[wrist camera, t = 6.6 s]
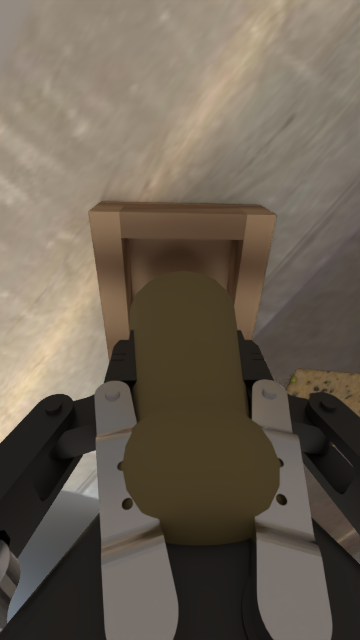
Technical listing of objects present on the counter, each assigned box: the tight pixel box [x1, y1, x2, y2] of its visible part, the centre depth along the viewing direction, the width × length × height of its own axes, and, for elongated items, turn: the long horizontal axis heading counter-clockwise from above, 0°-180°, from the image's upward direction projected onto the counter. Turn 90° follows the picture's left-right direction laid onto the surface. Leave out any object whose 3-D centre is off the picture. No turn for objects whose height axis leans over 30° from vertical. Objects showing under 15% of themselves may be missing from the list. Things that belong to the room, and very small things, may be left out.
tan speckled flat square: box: [286, 368, 360, 447], centre depth 31 cm, size 12×12×1 cm
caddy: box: [88, 201, 277, 362], centre depth 23 cm, size 19×11×4 cm, turn 179°
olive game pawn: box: [118, 271, 283, 546], centre depth 11 cm, size 6×6×11 cm
